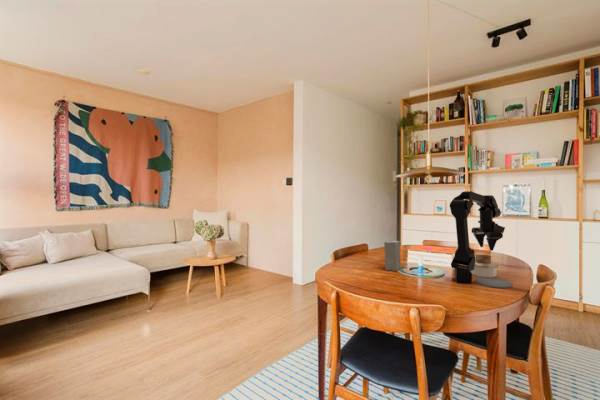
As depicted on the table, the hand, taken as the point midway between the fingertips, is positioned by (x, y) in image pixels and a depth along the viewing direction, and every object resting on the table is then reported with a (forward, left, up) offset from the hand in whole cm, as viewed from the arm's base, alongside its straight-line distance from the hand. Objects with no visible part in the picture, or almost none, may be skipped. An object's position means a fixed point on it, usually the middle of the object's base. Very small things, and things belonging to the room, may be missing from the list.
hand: (486, 248), depth 157 cm
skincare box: (-47, +4, -13) cm, 49 cm away
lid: (-2, -1, -8) cm, 9 cm away
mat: (-4, -17, -13) cm, 22 cm away
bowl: (-2, -1, -13) cm, 13 cm away
